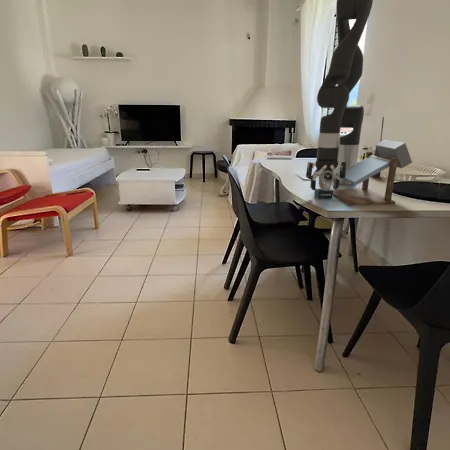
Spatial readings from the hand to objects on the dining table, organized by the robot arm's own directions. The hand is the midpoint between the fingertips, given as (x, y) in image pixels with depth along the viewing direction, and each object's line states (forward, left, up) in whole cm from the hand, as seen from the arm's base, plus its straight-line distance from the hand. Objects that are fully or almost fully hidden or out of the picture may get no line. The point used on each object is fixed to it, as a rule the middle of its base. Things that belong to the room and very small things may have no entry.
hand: (324, 189), depth 124 cm
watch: (0, 0, -4) cm, 4 cm away
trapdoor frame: (+2, +13, -3) cm, 13 cm away
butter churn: (-36, +40, -3) cm, 54 cm away
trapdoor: (+2, +18, +6) cm, 19 cm away
